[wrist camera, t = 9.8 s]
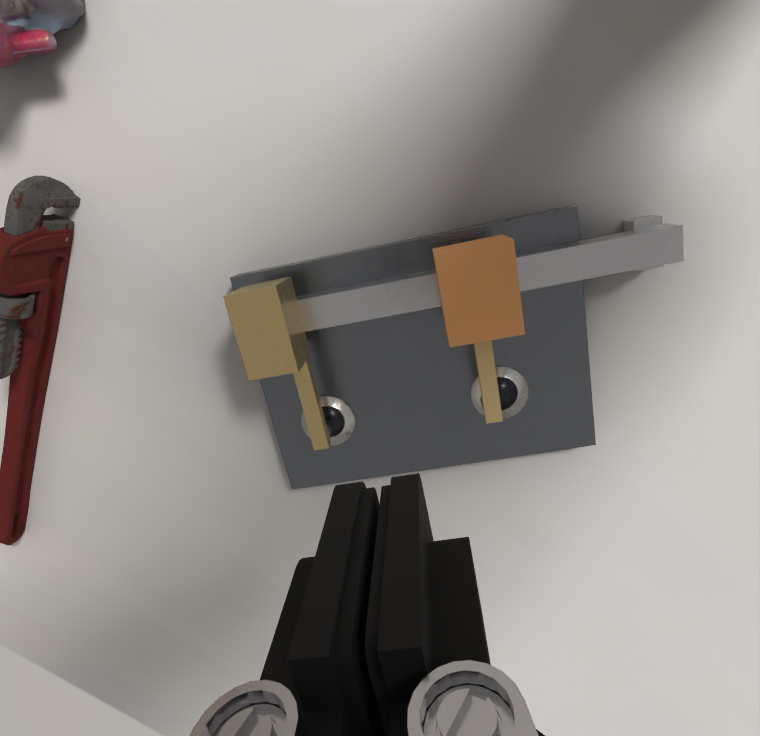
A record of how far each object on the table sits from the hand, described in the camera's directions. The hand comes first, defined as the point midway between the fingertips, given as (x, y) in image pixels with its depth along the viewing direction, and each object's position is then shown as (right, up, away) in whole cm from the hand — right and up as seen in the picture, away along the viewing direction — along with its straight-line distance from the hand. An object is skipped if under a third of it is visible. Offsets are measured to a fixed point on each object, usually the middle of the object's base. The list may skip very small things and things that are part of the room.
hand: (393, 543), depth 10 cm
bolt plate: (+5, +5, +25) cm, 26 cm away
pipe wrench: (-26, +3, +28) cm, 38 cm away
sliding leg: (+6, +6, +22) cm, 23 cm away
